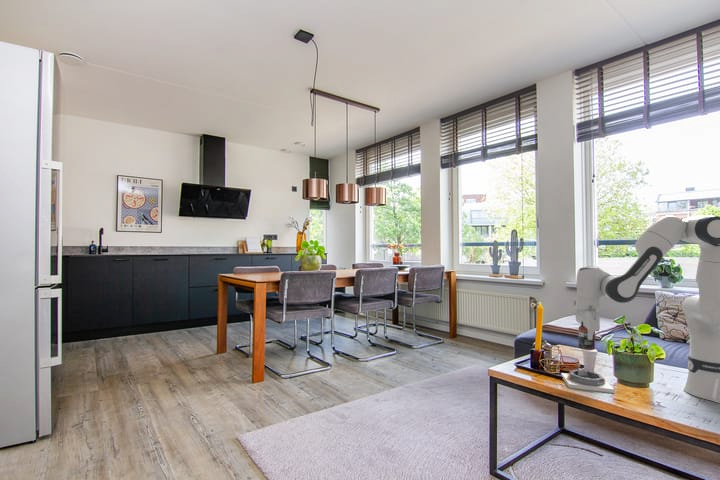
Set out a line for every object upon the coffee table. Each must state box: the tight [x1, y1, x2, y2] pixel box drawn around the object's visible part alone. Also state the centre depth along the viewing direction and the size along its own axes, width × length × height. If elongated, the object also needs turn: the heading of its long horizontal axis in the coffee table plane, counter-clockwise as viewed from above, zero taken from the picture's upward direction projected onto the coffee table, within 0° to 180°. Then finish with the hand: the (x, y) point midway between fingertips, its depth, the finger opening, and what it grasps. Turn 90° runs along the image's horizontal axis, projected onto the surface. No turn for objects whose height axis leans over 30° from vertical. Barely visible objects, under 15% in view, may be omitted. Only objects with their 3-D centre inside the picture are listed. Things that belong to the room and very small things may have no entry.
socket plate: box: [560, 372, 615, 394], centre depth 157 cm, size 16×14×2 cm
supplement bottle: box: [578, 322, 596, 350], centre depth 157 cm, size 6×6×11 cm
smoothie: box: [581, 348, 599, 372], centre depth 175 cm, size 6×6×14 cm
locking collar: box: [567, 369, 606, 386], centre depth 157 cm, size 14×12×2 cm
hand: (586, 337), depth 157 cm, fingers closed on supplement bottle, 6 cm apart
